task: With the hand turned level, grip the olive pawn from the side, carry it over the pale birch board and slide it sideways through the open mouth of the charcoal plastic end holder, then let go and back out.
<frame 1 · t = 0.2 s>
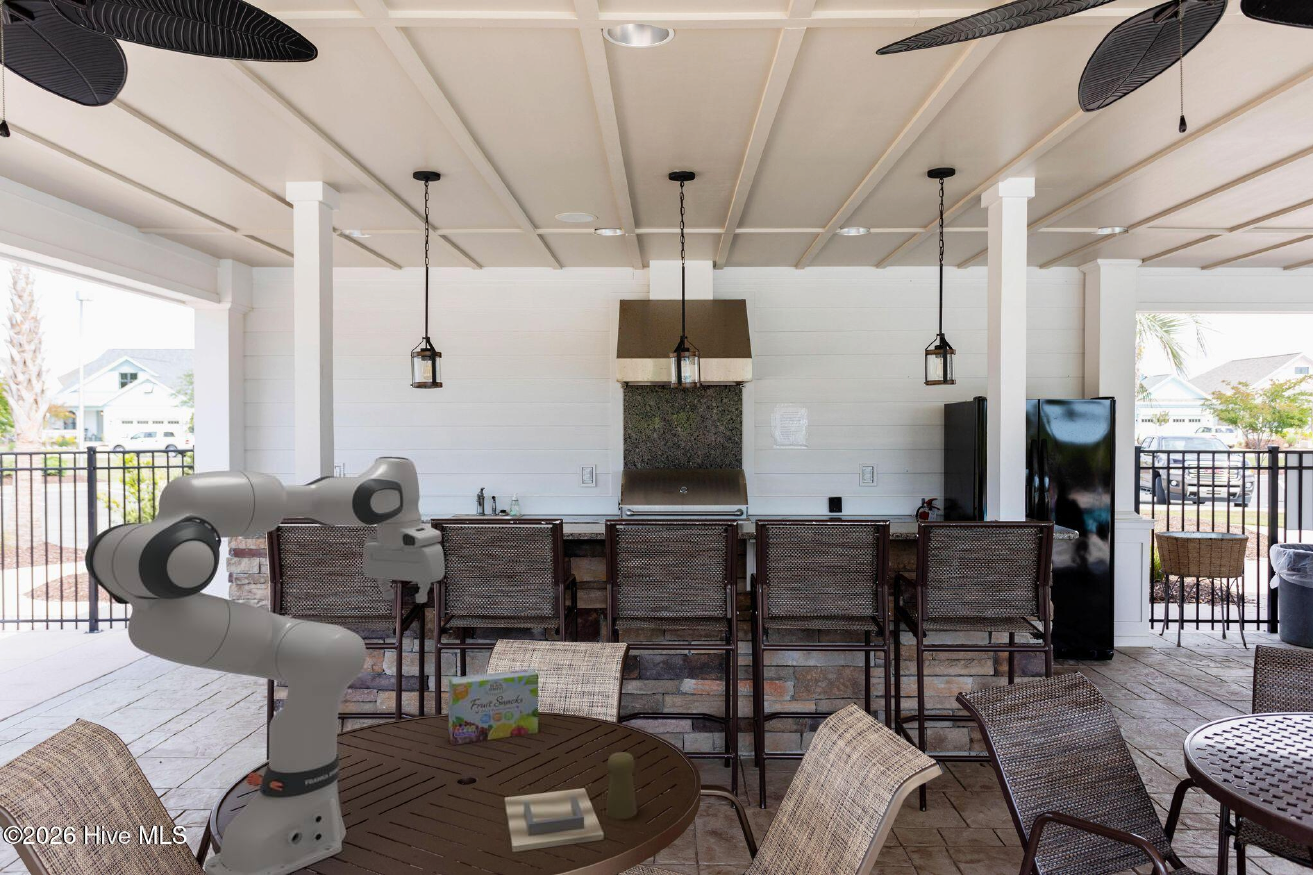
hand: (405, 600, 159), 39 cm above the table, tool pointing down, fingers open, 8 cm apart
snack box: (494, 737, 190), on the table
olive pawn: (621, 813, 148), on the table
route board: (552, 824, 143), on the table
end holder: (553, 815, 142), on the route board, point 1 cm above the table
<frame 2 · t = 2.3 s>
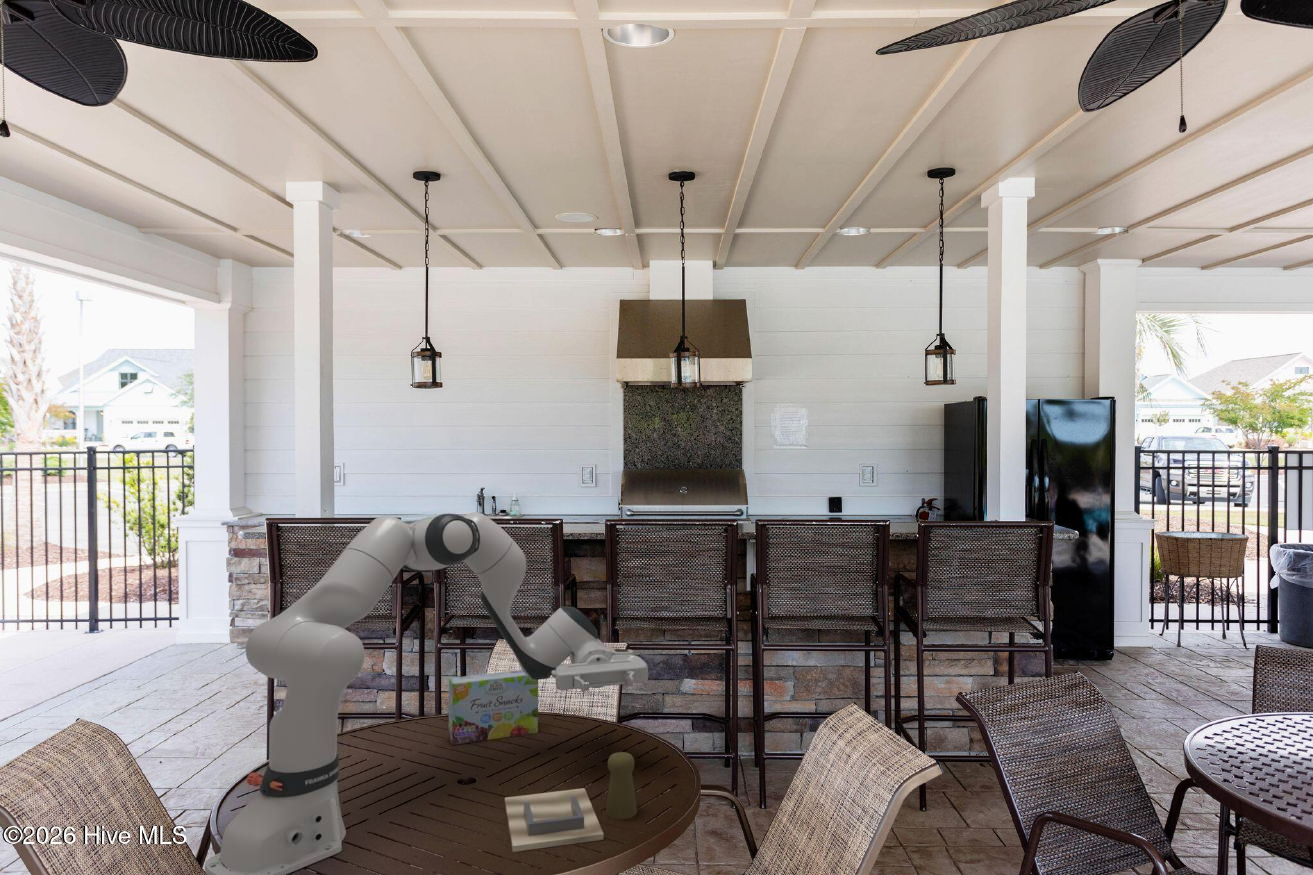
hand: (607, 684, 160), 21 cm above the table, tool horizontal, fingers open, 8 cm apart
nothing on the table moved.
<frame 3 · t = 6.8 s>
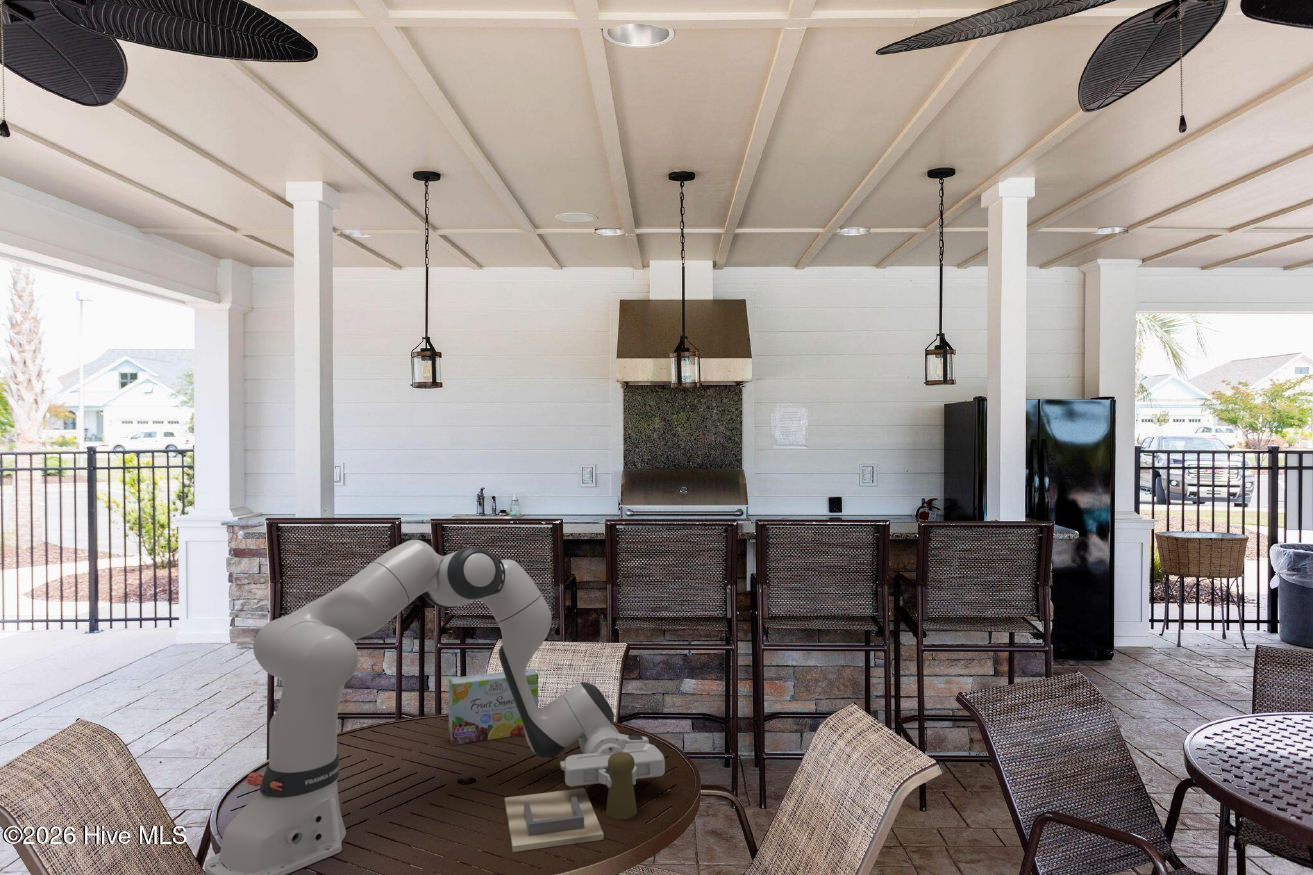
hand: (622, 782, 147), 6 cm above the table, tool horizontal, fingers closed on olive pawn, 2 cm apart
olive pawn: (621, 813, 148), on the table, touching gripper
everything else where it was.
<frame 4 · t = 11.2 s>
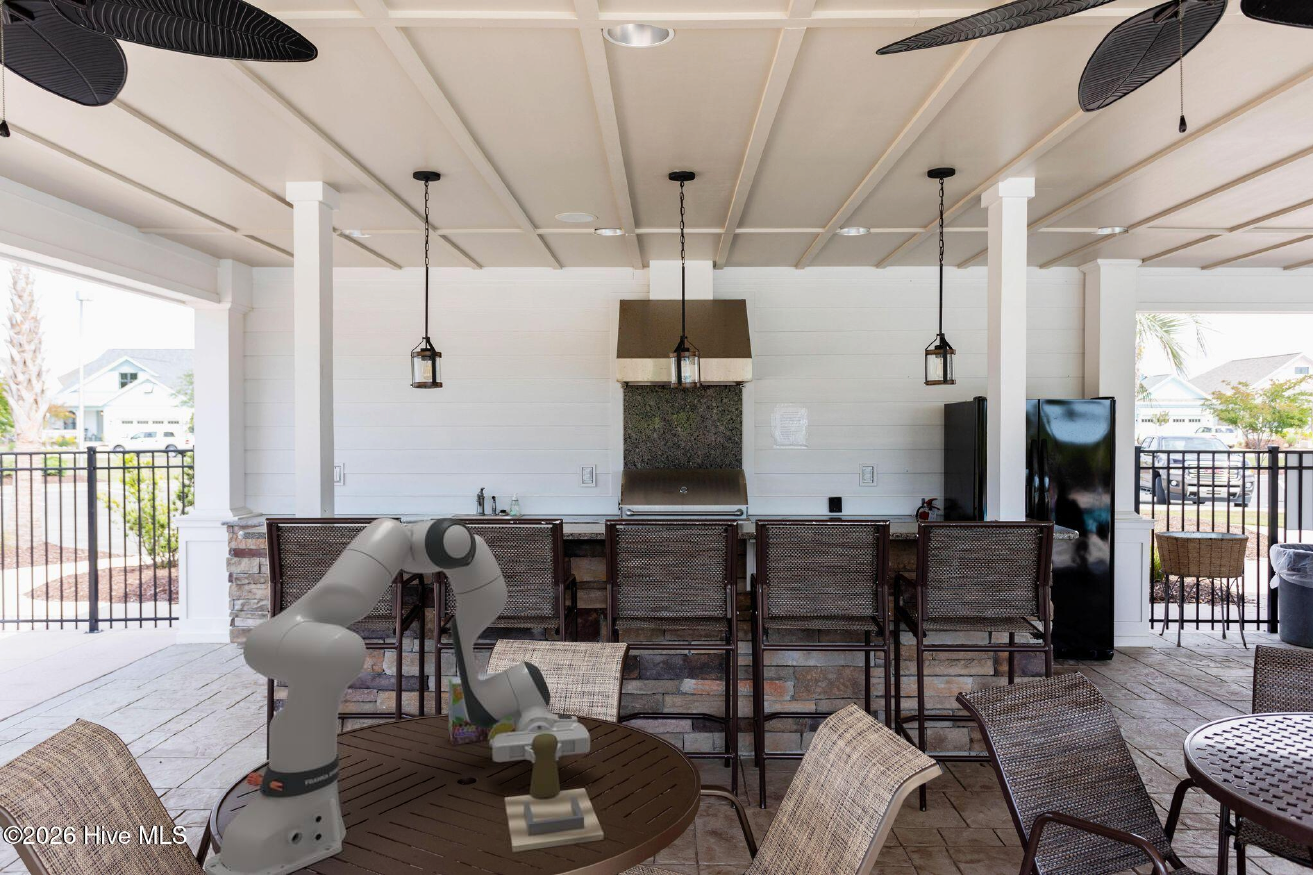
hand: (545, 757, 153), 8 cm above the table, tool horizontal, fingers closed on olive pawn, 2 cm apart
olive pawn: (544, 791, 154), point 1 cm above the table, touching gripper
everything else where it was.
when the fingers open (8 cm above the table, at t = 14.6 s): olive pawn stays where it is, resting on route board.
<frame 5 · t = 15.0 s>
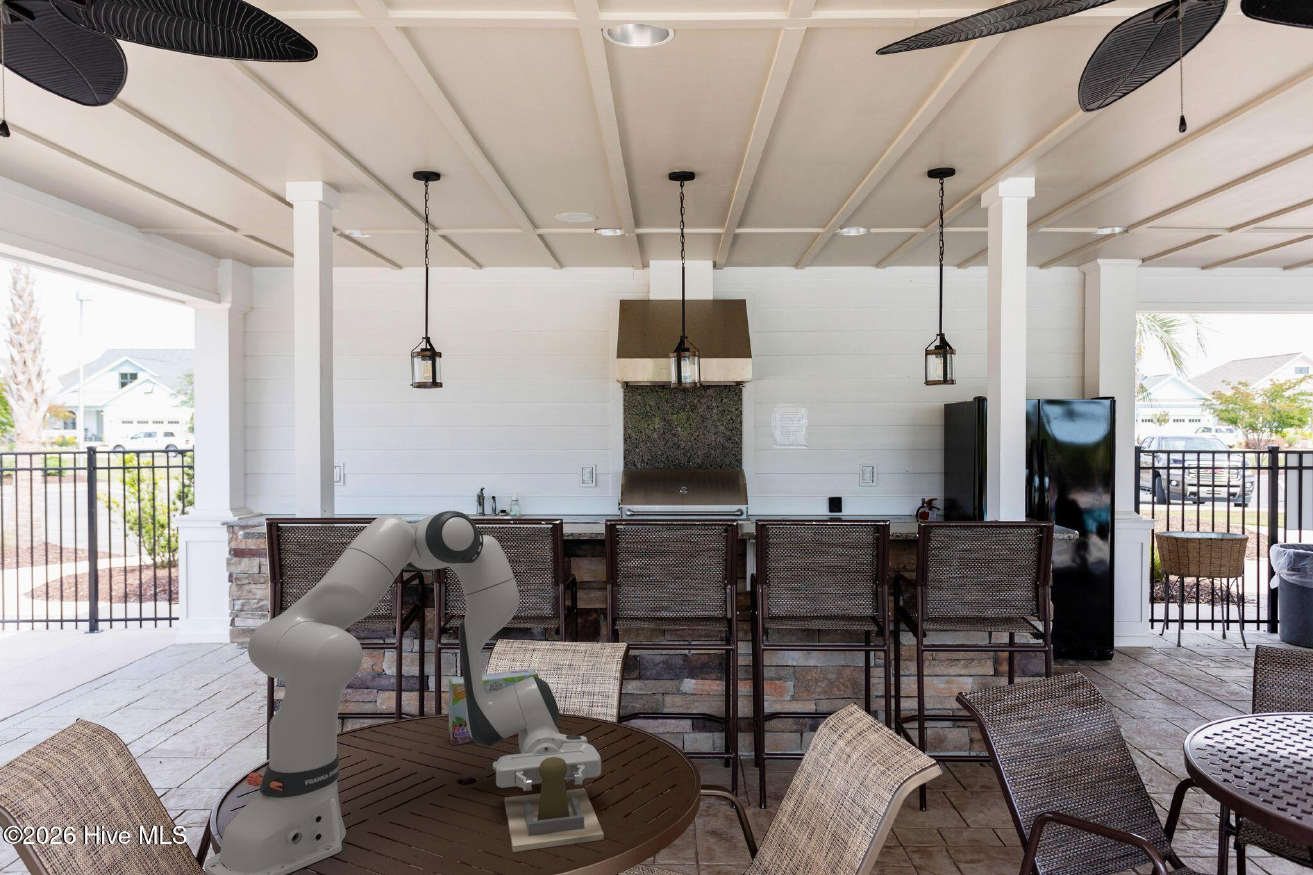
hand: (553, 783, 142), 8 cm above the table, tool horizontal, fingers open, 8 cm apart
olive pawn: (553, 820, 143), point 1 cm above the table, touching route board
everything else where it was.
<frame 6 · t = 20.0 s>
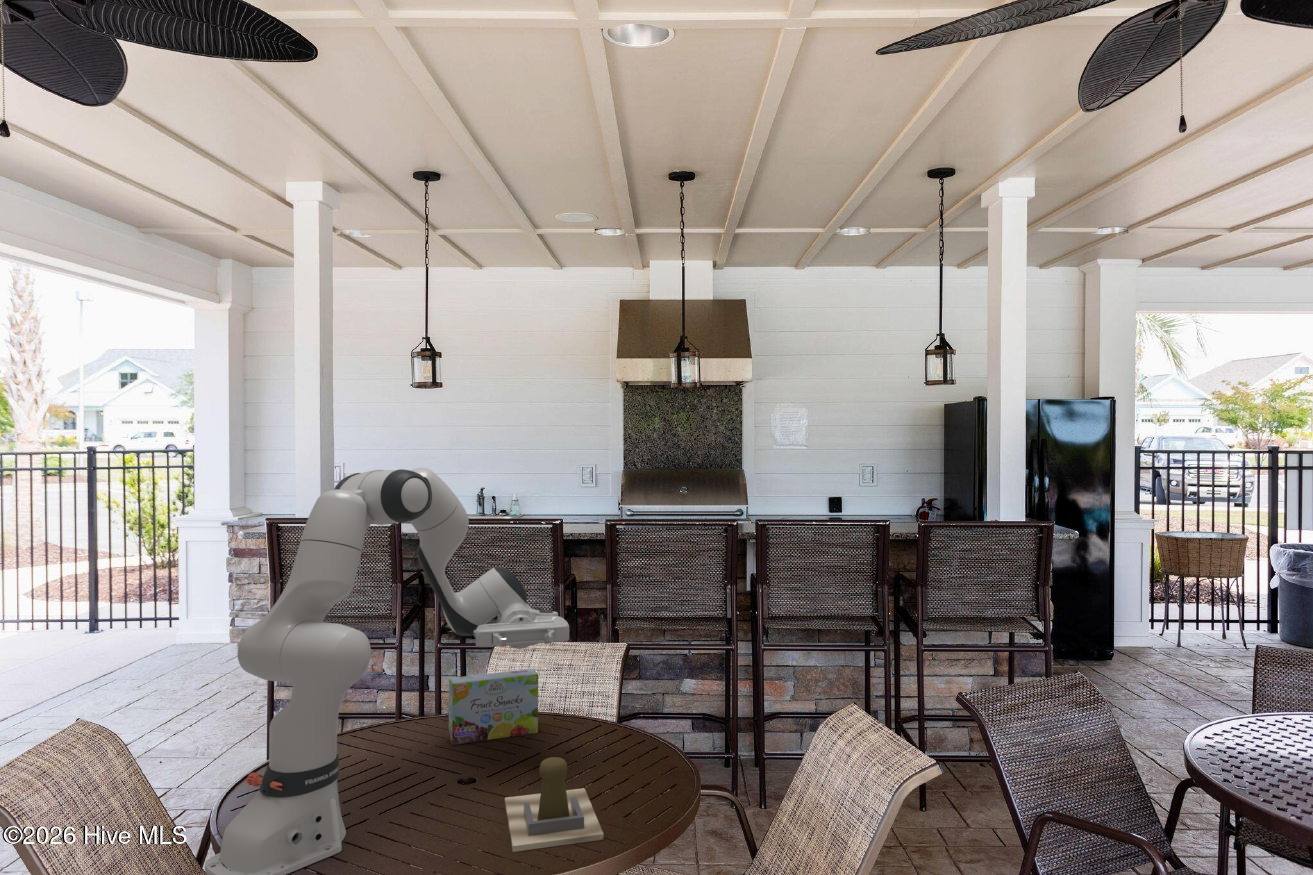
hand: (525, 641, 161), 30 cm above the table, tool horizontal, fingers open, 8 cm apart
nothing on the table moved.
at the end: olive pawn 0.1 cm off-centre on the end holder, point 0.8 cm above the end holder's base; olive pawn tilted 0°; the gripper is holding nothing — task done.
